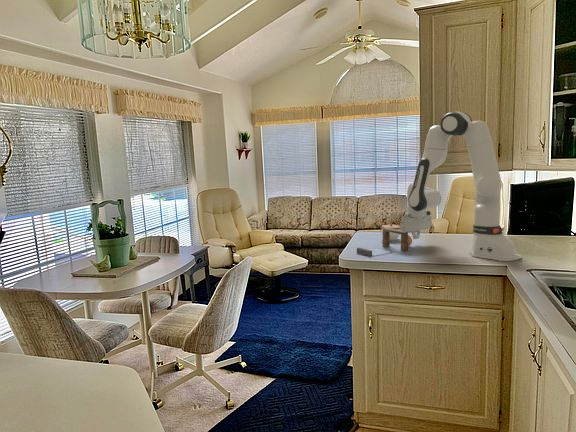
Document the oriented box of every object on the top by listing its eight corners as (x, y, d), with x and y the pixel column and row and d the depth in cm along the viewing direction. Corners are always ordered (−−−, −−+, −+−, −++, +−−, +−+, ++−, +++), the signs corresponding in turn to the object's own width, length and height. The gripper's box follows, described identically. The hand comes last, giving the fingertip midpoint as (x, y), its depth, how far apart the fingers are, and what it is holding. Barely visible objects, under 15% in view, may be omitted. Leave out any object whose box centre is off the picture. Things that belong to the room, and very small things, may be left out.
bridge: (386, 245, 234) (386, 227, 233) (407, 250, 221) (408, 231, 220) (382, 246, 232) (382, 228, 231) (403, 251, 220) (403, 232, 218)
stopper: (372, 255, 213) (372, 250, 212) (368, 256, 212) (368, 251, 211) (359, 252, 220) (359, 247, 220) (356, 252, 219) (356, 247, 219)
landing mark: (392, 252, 218) (392, 252, 218) (374, 256, 212) (374, 255, 211) (375, 248, 228) (375, 248, 228) (357, 251, 222) (357, 251, 222)
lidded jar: (393, 242, 242) (393, 225, 241) (377, 239, 250) (377, 223, 249) (404, 239, 249) (404, 223, 248) (388, 236, 257) (389, 221, 256)
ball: (416, 239, 230) (409, 234, 227) (411, 249, 230) (404, 244, 226) (407, 236, 235) (401, 232, 232) (402, 246, 235) (396, 242, 231)
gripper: (405, 215, 224) (406, 242, 226) (433, 211, 234) (433, 236, 236) (397, 214, 230) (397, 240, 232) (424, 210, 240) (424, 235, 241)
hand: (416, 238), depth 234 cm, fingers closed
